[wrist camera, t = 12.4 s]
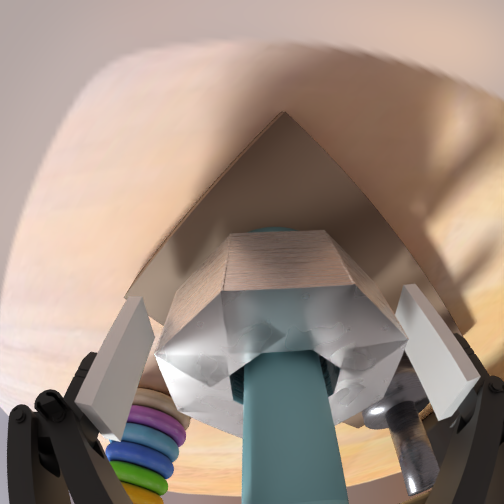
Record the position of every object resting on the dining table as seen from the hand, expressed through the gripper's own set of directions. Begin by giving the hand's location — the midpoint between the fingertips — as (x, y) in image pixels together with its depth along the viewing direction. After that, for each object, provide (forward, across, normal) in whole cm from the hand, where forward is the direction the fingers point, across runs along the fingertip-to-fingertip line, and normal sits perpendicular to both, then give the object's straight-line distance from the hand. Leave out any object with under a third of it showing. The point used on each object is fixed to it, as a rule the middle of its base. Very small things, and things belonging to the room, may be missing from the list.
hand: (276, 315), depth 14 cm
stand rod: (+3, -9, +9) cm, 13 cm away
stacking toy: (+5, +12, +16) cm, 21 cm away
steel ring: (0, 0, 0) cm, 0 cm away
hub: (+3, 0, 0) cm, 3 cm away
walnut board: (+5, -5, +5) cm, 8 cm away
